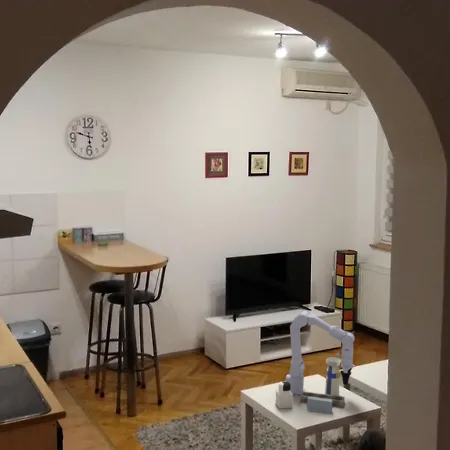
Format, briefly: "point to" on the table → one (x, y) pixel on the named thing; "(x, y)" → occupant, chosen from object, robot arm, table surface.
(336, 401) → the track board
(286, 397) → the medicine bottle
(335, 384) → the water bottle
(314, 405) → the grey-blue rectangular block
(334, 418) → the table surface
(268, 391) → the table surface
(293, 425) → the table surface
